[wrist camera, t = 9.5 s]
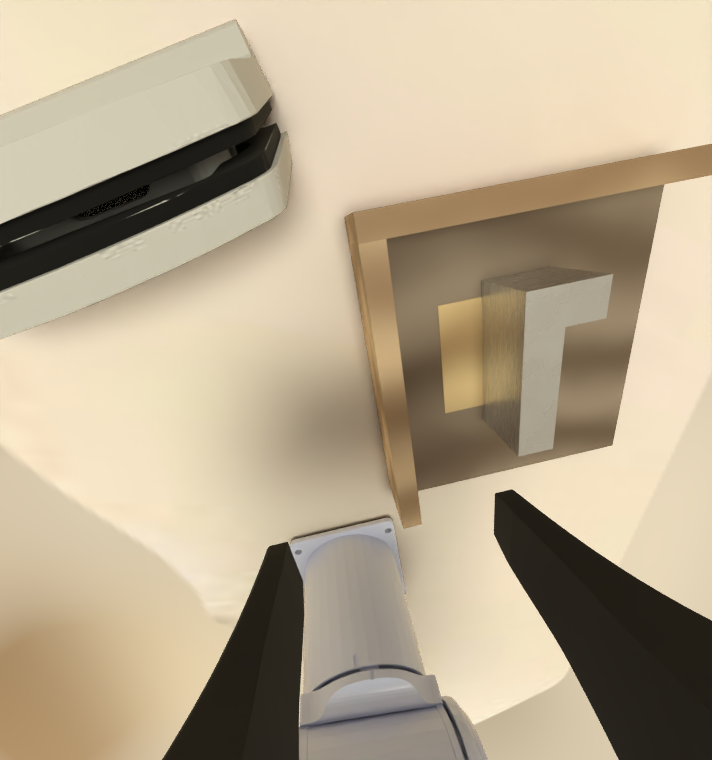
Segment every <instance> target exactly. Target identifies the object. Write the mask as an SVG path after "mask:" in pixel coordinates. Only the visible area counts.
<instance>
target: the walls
mask: <svg viewBox="0 0 712 760" xmlns="http://www.w3.org/2000/svg"><path fill="white" fill-rule="evenodd" d="M709 175H712V144H708V145H703V146H698V147H692V148H687V149H682V150H677V151H672V152H666V153H661V154H656V155H651V156H646V157H640V158H635V159H630V160H625V161H619V162H614V163H609V164H604V165H599V166H593V167H588V168H583V169H578V170H572V171H567V172H562V173H557V174H552V175H546V176H541V177H536V178H531V179H526V180H520V181H515V182H510V183H505V184H499V185H494V186H489V187H484V188H479V189H473V190H468V191H463V192H458V193H453V194H447V195H442V196H437V197H432V198H426V199H421V200H416V201H411V202H406V203H400V204H395V205H390V206H385V207H379V208H374V209H369V210H364V211H359V212H353V213H352V214H350V215H348V216H346V217H345V223H346V229H347V235H348V241H349V246H350V252H351V258H352V264H353V270H354V276H355V282H356V288H357V293H358V299H359V305H360V311H361V317H362V323H363V329H364V335H365V340H366V346H367V352H368V358H369V364H370V370H371V376H372V382H373V387H374V393H375V399H376V405H377V411H378V417H379V423H380V428H381V434H382V440H383V446H384V452H385V458H386V464H387V470H388V475H389V481H390V487H391V491H392V494H393V497H394V500H395V503H396V507H397V510H398V513H399V516H400V519H401V522H402V525H403V528H408V527H412V526H416V525H421V524H422V522H421V514H420V506H419V498H418V490H417V482H416V474H415V466H414V458H413V450H412V442H411V434H410V426H409V418H408V410H407V402H406V394H405V386H404V378H403V370H402V362H401V353H400V345H399V337H398V329H397V321H396V313H395V305H394V297H393V289H392V281H391V273H390V265H389V257H388V249H387V241H386V239H388V238H393V237H399V236H404V235H409V234H414V233H419V232H424V231H429V230H434V229H439V228H444V227H449V226H454V225H460V224H465V223H470V222H475V221H480V220H485V219H490V218H495V217H500V216H505V215H510V214H516V213H521V212H526V211H531V210H536V209H541V208H546V207H551V206H556V205H561V204H566V203H572V202H577V201H582V200H587V199H592V198H597V197H602V196H607V195H612V194H617V193H622V192H628V191H633V190H638V189H643V188H648V187H653V186H658V185H663V184H668V183H673V182H678V181H684V180H689V179H694V178H699V177H704V176H709Z"/></svg>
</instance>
